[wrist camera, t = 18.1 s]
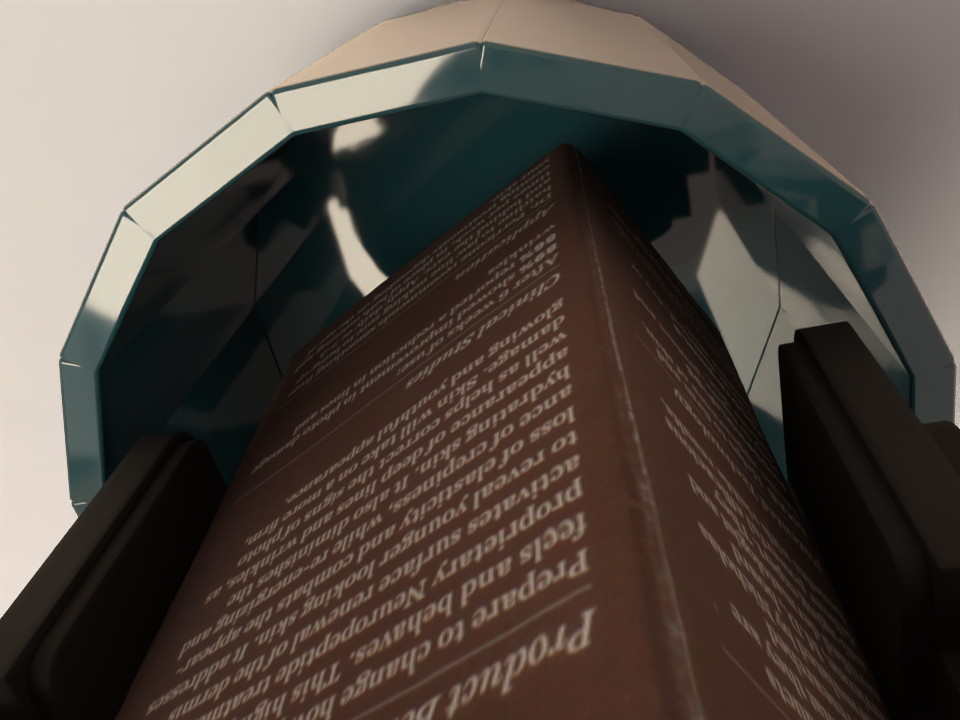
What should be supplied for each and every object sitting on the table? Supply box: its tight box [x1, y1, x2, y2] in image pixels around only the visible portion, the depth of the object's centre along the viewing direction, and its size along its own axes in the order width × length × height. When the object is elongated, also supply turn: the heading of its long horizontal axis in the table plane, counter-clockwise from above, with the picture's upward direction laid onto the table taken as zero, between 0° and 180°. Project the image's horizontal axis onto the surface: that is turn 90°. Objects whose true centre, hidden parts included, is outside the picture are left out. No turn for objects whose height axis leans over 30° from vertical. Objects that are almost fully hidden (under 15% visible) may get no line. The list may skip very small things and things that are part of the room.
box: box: [114, 143, 892, 720], centre depth 8 cm, size 6×4×12 cm
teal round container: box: [59, 0, 956, 517], centre depth 14 cm, size 11×11×7 cm
